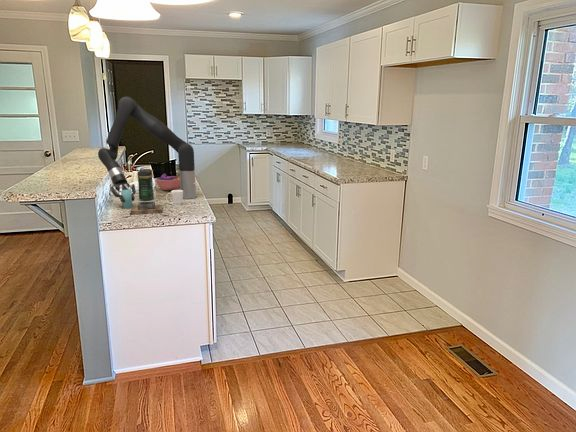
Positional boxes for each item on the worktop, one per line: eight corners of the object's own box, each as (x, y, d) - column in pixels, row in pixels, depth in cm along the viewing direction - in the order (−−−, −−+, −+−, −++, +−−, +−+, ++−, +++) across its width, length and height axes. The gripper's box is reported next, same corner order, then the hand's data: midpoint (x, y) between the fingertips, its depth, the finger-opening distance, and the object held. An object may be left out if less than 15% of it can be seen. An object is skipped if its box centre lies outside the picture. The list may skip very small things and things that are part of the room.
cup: (184, 205, 253) (183, 191, 251) (166, 206, 250) (165, 192, 248) (183, 202, 260) (182, 189, 258) (166, 203, 257) (165, 190, 255)
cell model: (182, 192, 287) (181, 175, 284) (152, 192, 288) (150, 175, 285) (188, 188, 304) (187, 171, 301) (160, 187, 304) (158, 171, 301)
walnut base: (162, 207, 247) (162, 200, 246) (161, 213, 236) (161, 205, 234) (132, 209, 243) (132, 201, 242) (130, 214, 232) (129, 206, 231)
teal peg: (132, 206, 250) (131, 189, 247) (132, 208, 245) (130, 191, 243) (123, 206, 249) (122, 189, 246) (122, 208, 244) (121, 191, 242)
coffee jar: (151, 201, 263) (148, 170, 259) (137, 201, 263) (135, 170, 258) (155, 197, 273) (153, 168, 268) (142, 197, 273) (140, 168, 268)
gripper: (106, 174, 243) (117, 199, 237) (131, 171, 252) (142, 195, 247) (103, 182, 248) (114, 206, 242) (128, 179, 257) (139, 203, 252)
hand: (128, 201), depth 245 cm, fingers open, 5 cm apart
